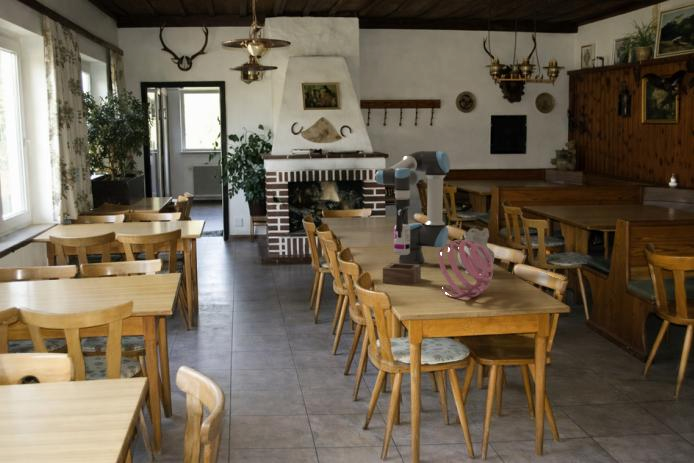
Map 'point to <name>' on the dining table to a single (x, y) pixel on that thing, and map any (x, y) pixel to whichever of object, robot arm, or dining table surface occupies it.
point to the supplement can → (405, 247)
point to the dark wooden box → (402, 273)
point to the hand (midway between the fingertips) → (402, 242)
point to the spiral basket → (467, 268)
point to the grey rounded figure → (480, 239)
